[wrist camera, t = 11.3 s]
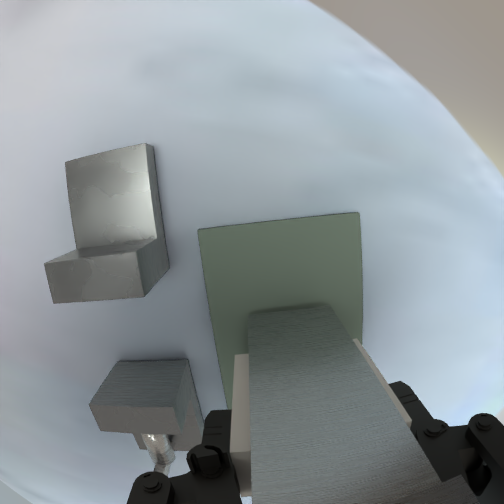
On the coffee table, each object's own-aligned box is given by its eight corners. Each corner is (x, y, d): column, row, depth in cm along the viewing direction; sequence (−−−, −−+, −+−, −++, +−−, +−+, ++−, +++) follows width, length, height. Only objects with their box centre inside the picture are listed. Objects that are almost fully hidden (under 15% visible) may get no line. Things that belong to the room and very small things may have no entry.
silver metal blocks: (144, 436, 21) (125, 489, 15) (77, 163, 17) (21, 159, 11) (207, 436, 21) (199, 494, 15) (153, 146, 17) (114, 131, 11)
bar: (251, 387, 18) (259, 613, 5) (240, 310, 17) (233, 571, 4) (336, 376, 18) (421, 578, 5) (335, 298, 17) (482, 506, 4)
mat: (232, 426, 21) (232, 429, 20) (198, 229, 18) (197, 230, 18) (356, 409, 21) (358, 412, 20) (357, 212, 18) (359, 212, 17)
